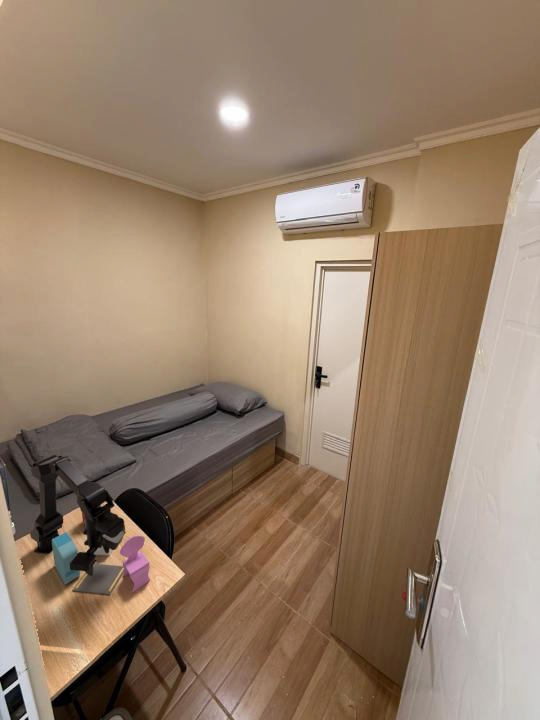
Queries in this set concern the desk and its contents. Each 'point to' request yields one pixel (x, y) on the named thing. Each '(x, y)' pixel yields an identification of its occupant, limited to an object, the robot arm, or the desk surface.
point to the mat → (100, 579)
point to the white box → (103, 552)
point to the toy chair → (135, 561)
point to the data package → (64, 557)
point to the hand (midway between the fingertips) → (99, 563)
